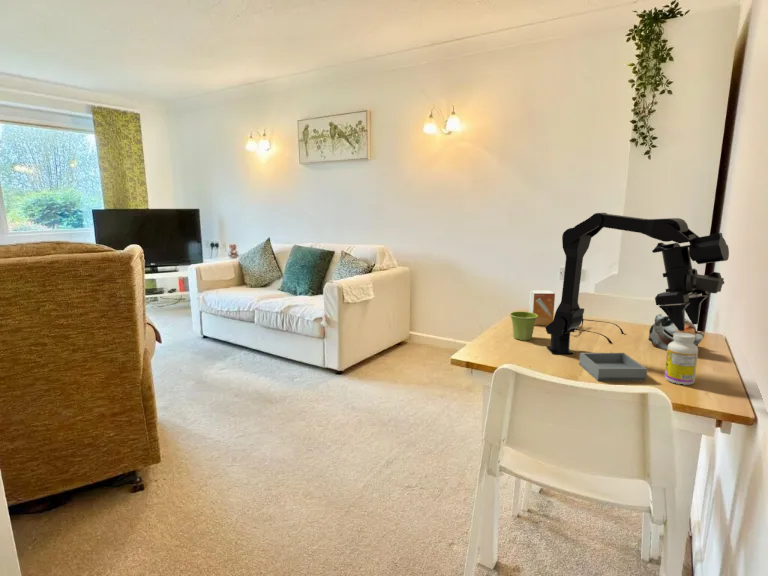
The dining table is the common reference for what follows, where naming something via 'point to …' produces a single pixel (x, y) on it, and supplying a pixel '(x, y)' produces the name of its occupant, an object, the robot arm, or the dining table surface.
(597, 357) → the tray
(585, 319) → the eyeglasses
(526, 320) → the plant pot
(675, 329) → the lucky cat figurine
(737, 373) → the dining table surface
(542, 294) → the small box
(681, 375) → the supplement bottle
